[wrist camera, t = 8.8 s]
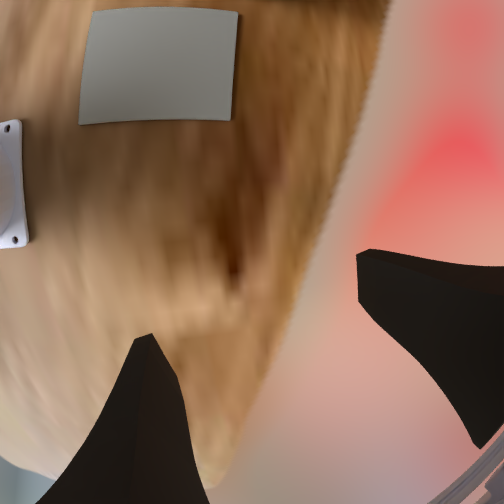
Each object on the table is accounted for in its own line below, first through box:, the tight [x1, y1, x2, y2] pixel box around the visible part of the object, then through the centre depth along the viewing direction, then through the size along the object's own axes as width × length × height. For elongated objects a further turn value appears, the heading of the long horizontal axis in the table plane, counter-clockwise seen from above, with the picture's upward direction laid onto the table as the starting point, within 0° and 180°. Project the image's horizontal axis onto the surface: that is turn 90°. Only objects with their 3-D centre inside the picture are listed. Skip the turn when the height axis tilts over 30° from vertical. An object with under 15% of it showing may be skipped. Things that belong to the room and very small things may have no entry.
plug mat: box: [78, 7, 238, 125], centre depth 14 cm, size 9×8×1 cm
